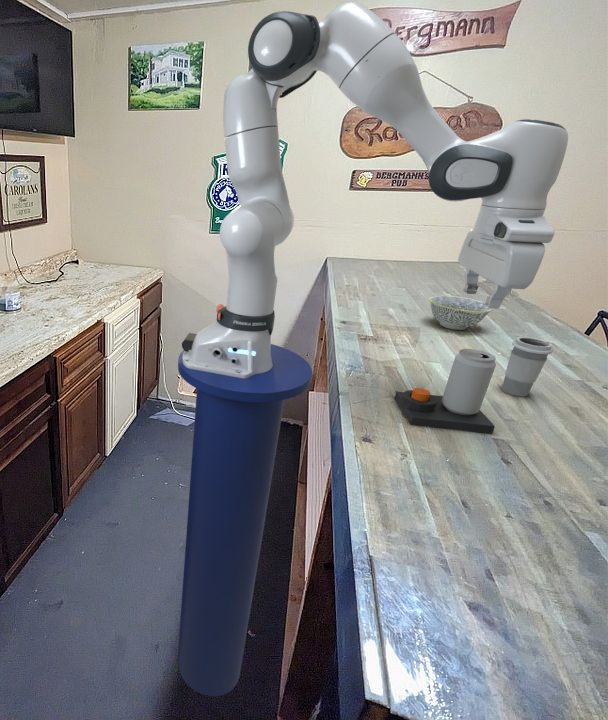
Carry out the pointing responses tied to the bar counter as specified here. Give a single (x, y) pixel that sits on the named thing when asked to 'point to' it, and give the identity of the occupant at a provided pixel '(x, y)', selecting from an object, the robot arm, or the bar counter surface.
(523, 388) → the cup
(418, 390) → the tare button
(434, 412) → the black flat block
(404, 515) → the bar counter surface
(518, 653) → the bar counter surface
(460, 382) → the beverage can
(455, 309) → the bowl
